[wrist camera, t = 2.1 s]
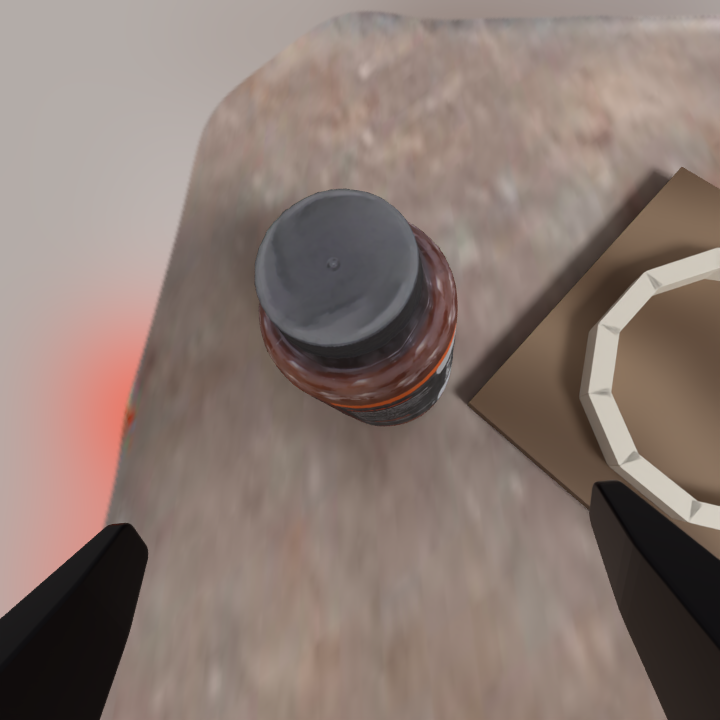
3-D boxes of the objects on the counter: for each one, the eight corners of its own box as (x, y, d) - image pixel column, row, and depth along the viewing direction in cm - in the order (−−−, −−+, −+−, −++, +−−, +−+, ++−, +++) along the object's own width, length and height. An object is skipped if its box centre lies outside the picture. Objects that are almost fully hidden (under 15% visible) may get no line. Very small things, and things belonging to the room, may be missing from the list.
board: (764, 661, 17) (784, 673, 16) (467, 405, 20) (468, 402, 20) (999, 380, 17) (1032, 376, 17) (670, 179, 21) (682, 166, 20)
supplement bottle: (479, 366, 21) (526, 264, 10) (381, 455, 21) (319, 451, 10) (391, 278, 22) (347, 106, 11) (300, 360, 22) (167, 266, 11)
